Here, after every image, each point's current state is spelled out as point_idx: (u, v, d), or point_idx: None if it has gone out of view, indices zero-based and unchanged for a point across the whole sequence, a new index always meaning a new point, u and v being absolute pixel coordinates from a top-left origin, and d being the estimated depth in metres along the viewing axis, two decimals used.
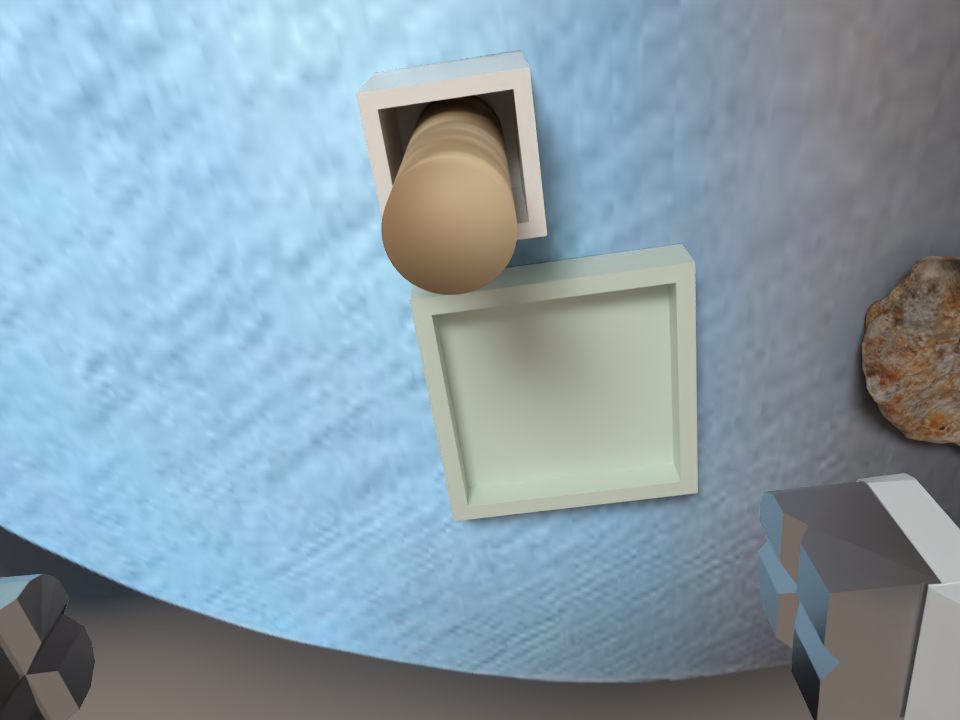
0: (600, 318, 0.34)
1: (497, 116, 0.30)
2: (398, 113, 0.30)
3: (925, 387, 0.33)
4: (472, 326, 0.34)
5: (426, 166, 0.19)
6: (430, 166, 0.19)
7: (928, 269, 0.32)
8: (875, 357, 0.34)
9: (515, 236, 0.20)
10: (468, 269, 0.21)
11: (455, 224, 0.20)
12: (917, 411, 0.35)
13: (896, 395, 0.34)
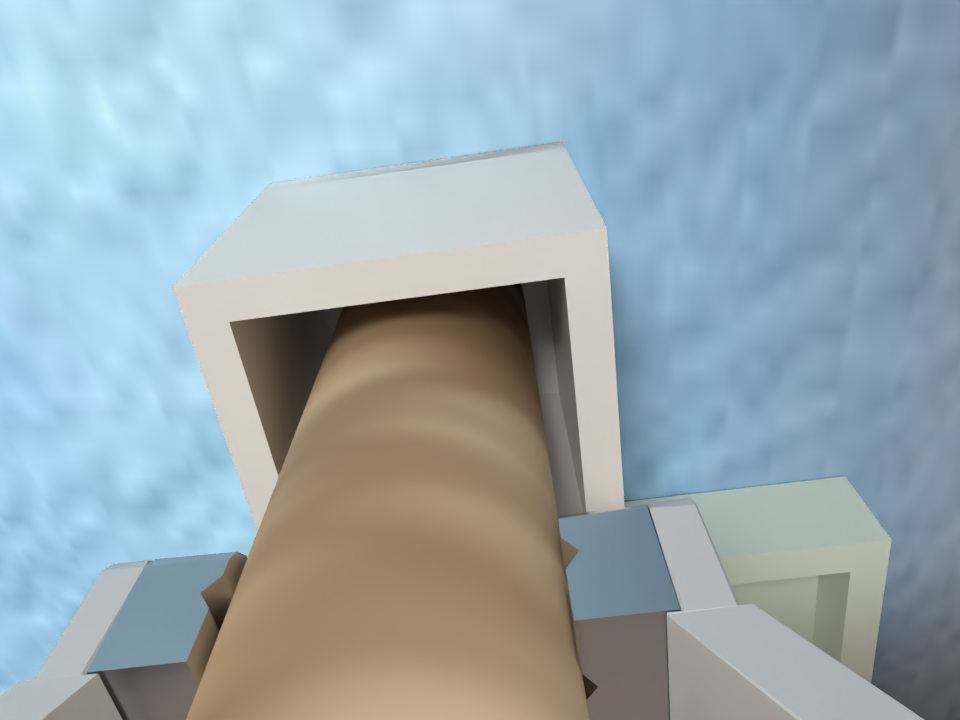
0: None
1: None
2: None
3: None
4: None
5: None
6: None
7: None
8: None
9: None
10: None
11: None
12: None
13: None
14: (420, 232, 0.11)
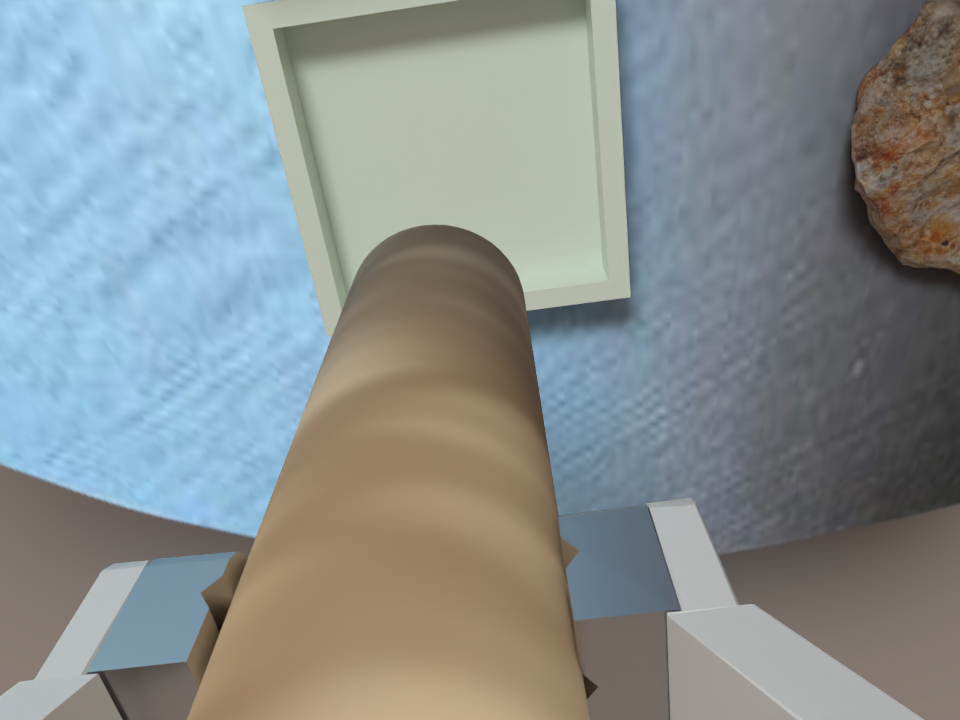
0: (499, 53, 0.27)
1: (514, 271, 0.15)
2: None
3: (929, 170, 0.26)
4: (336, 64, 0.27)
5: None
6: None
7: (940, 7, 0.25)
8: (868, 137, 0.27)
9: None
10: None
11: None
12: (917, 214, 0.28)
13: (892, 183, 0.27)
14: None
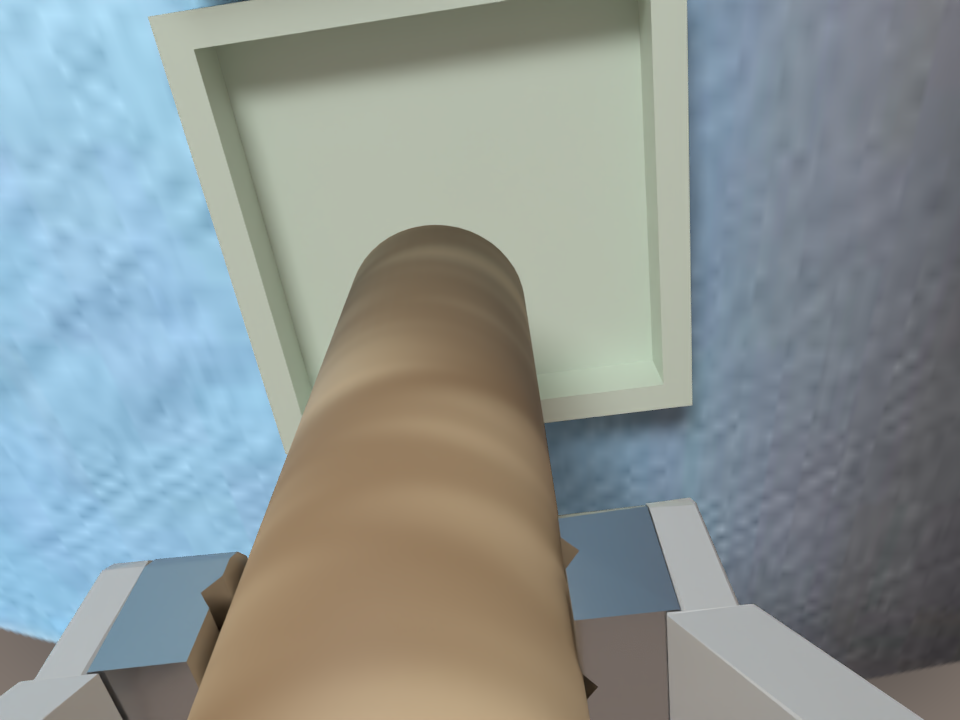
0: (517, 80, 0.19)
1: (514, 271, 0.15)
2: None
3: None
4: (290, 95, 0.19)
5: None
6: None
7: None
8: None
9: None
10: None
11: None
12: None
13: None
14: None
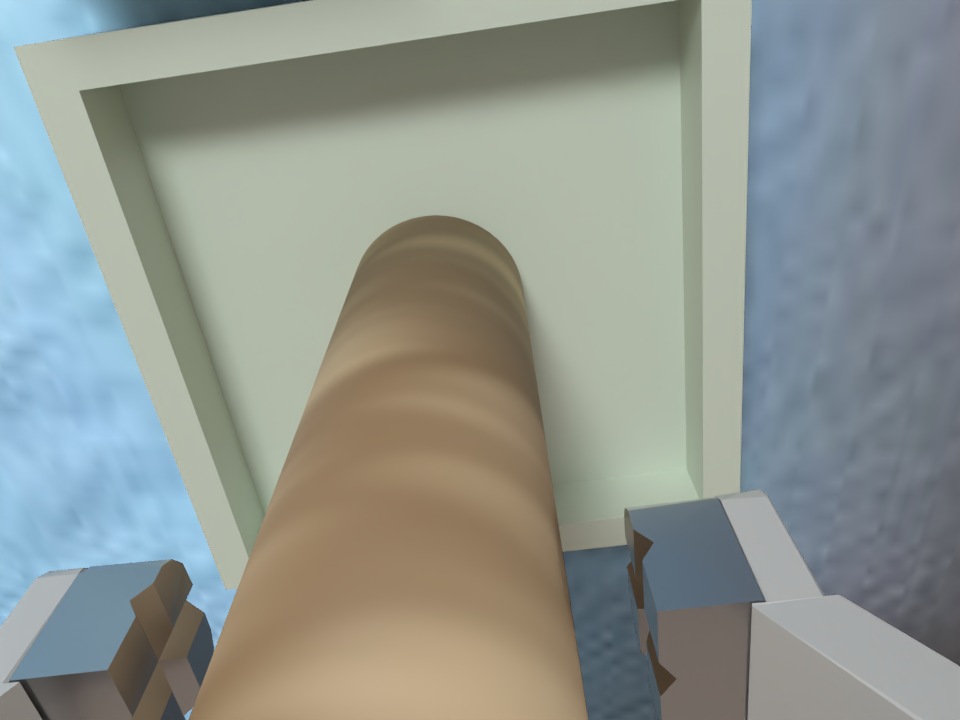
0: (519, 127, 0.15)
1: (512, 260, 0.16)
2: None
3: None
4: (220, 147, 0.15)
5: None
6: None
7: None
8: None
9: None
10: None
11: None
12: None
13: None
14: None
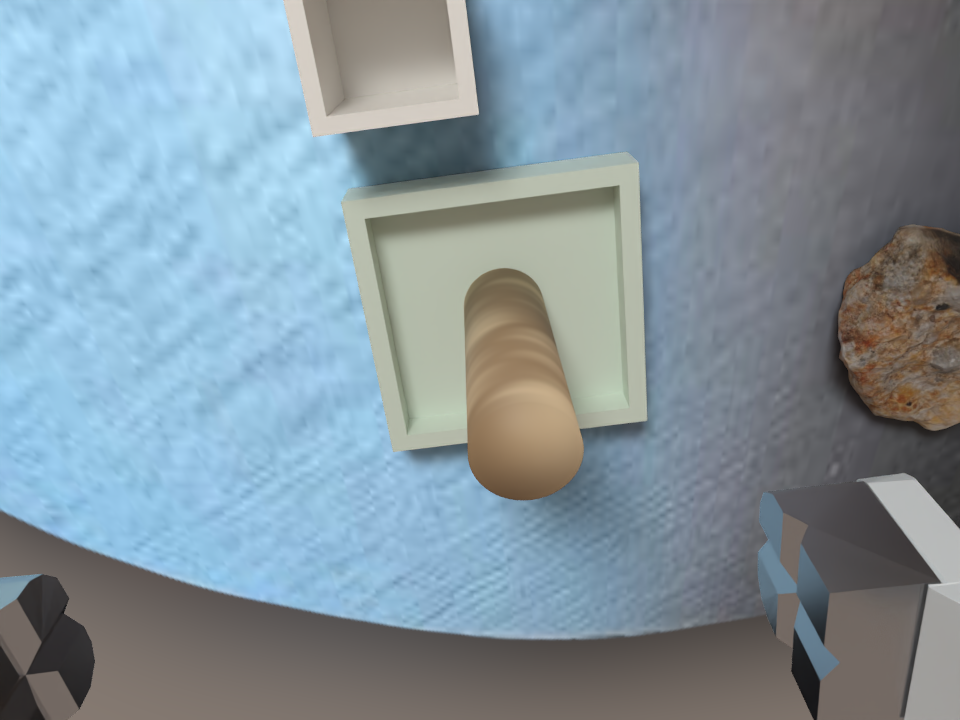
0: (543, 230, 0.33)
1: (539, 288, 0.34)
2: None
3: (899, 355, 0.33)
4: (410, 238, 0.33)
5: (509, 403, 0.23)
6: (513, 404, 0.23)
7: (910, 235, 0.32)
8: (852, 324, 0.34)
9: (581, 456, 0.24)
10: (539, 480, 0.24)
11: (531, 447, 0.23)
12: (888, 383, 0.35)
13: (870, 362, 0.34)
14: None
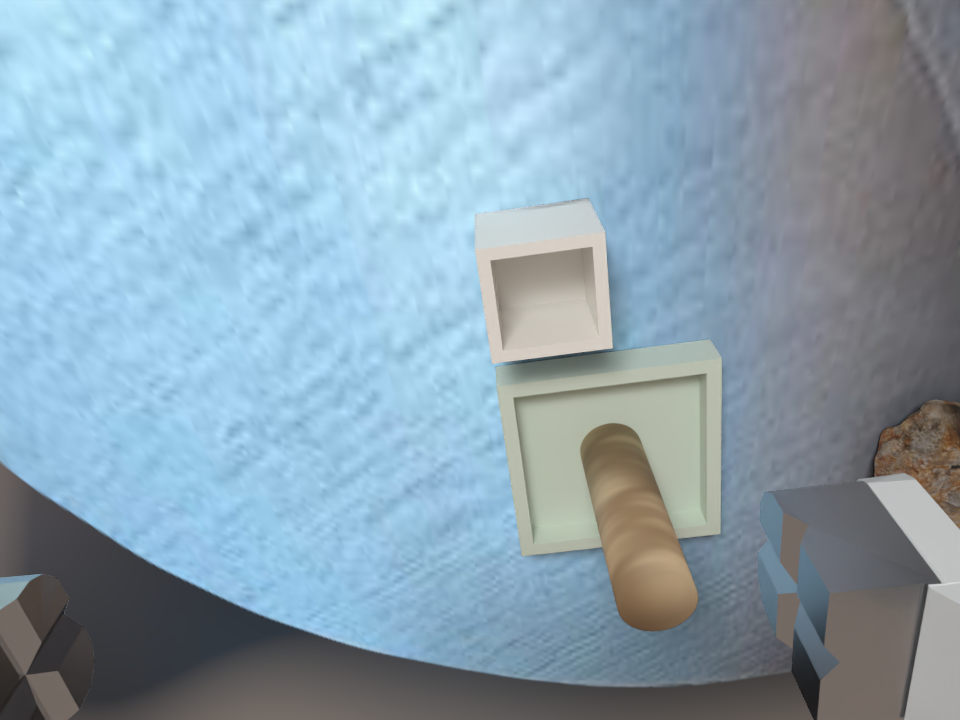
0: (644, 396, 0.43)
1: None
2: None
3: None
4: (542, 403, 0.43)
5: (648, 571, 0.33)
6: (651, 573, 0.33)
7: (933, 410, 0.42)
8: (885, 470, 0.44)
9: (696, 603, 0.34)
10: (665, 618, 0.34)
11: (661, 598, 0.34)
12: None
13: None
14: (547, 233, 0.34)
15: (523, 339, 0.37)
